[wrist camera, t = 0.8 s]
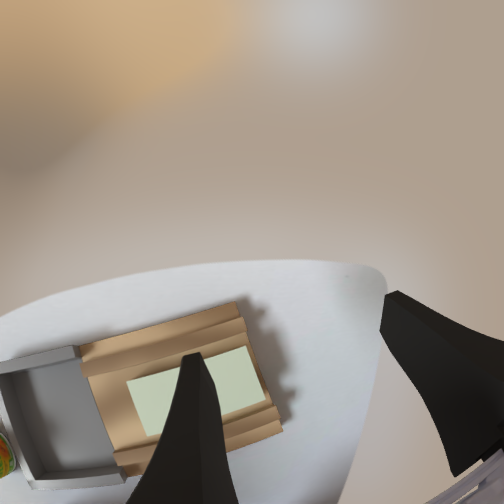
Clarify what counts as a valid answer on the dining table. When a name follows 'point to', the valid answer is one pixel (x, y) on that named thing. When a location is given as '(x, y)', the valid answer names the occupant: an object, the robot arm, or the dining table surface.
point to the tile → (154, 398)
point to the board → (161, 359)
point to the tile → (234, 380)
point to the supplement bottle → (6, 457)
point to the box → (56, 422)
